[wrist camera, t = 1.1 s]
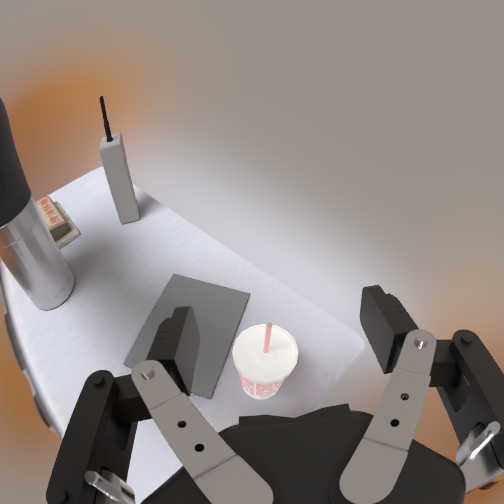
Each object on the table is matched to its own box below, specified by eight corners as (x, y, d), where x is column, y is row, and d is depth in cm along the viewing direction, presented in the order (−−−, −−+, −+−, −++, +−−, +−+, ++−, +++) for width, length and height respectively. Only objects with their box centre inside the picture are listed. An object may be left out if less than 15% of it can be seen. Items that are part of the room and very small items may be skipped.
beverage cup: (293, 368, 33) (316, 306, 23) (276, 412, 29) (294, 372, 19) (247, 352, 35) (248, 284, 25) (227, 394, 31) (216, 343, 21)
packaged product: (19, 210, 49) (52, 188, 54) (26, 225, 52) (58, 204, 58) (32, 245, 41) (73, 217, 46) (43, 263, 44) (81, 236, 50)
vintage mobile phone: (138, 206, 55) (113, 89, 38) (139, 220, 52) (111, 95, 34) (121, 210, 55) (93, 95, 37) (121, 225, 51) (88, 101, 33)
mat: (124, 365, 32) (123, 363, 32) (174, 275, 43) (173, 273, 43) (210, 399, 30) (209, 398, 30) (249, 295, 41) (249, 293, 40)
